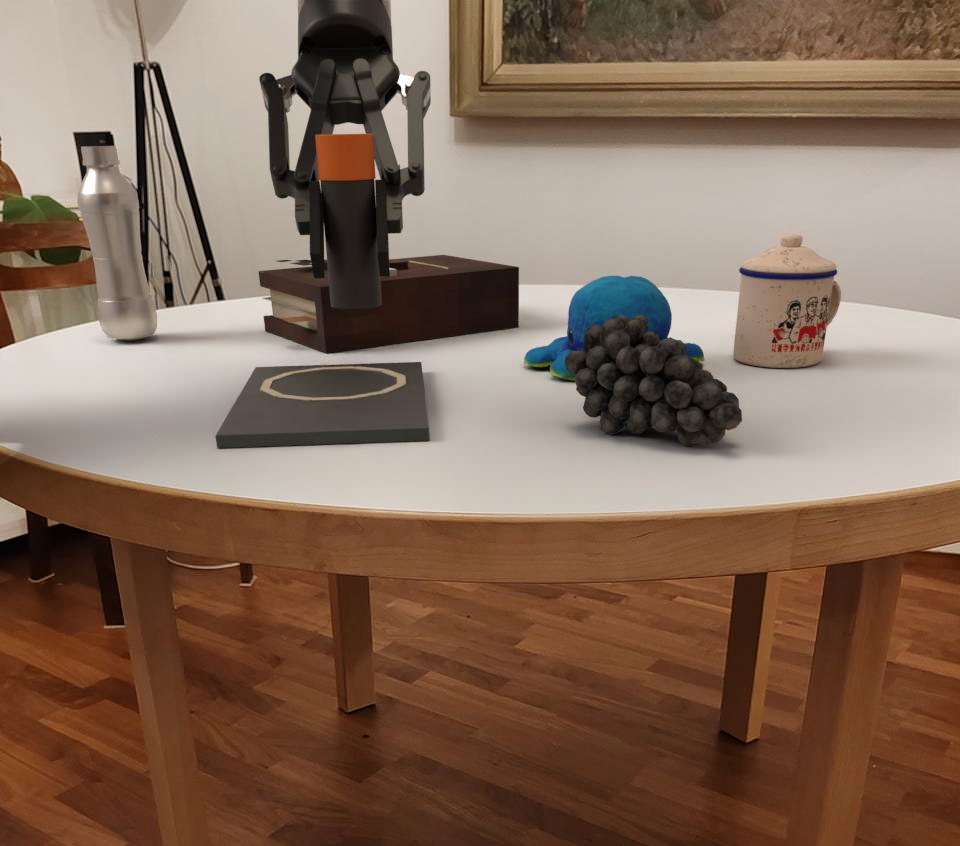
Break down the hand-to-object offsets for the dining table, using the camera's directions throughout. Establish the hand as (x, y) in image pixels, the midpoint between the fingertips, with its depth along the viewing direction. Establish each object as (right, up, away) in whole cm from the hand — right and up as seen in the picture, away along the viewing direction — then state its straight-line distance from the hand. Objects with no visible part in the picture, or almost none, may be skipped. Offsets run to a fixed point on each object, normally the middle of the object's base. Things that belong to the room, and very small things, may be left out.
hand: (350, 265), depth 72 cm
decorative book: (-1, +9, +45) cm, 46 cm away
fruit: (+23, -12, +3) cm, 26 cm away
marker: (0, -1, +5) cm, 5 cm away
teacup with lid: (+41, +1, +27) cm, 49 cm away
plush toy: (+23, -1, +25) cm, 34 cm away
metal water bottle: (-31, +7, +41) cm, 52 cm away
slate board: (-3, -7, +13) cm, 15 cm away
